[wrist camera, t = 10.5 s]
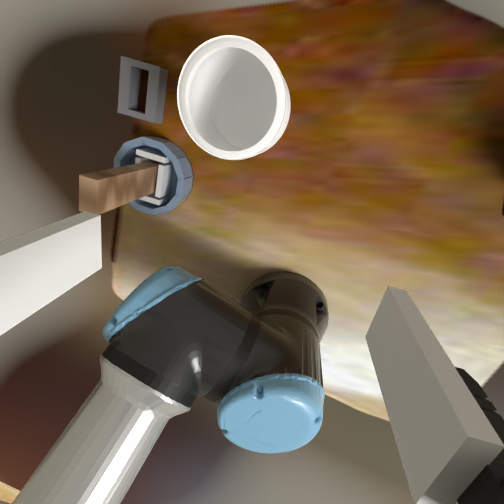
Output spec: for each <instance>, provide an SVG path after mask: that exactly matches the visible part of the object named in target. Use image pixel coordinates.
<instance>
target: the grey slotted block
mask: <svg viewBox="0 0 504 504" xmlns="http://www.w3.org/2000/svg"><path fill="white" fill-rule="evenodd" d="M120 63H121V64H120V79H119V96H118V112H119V113H122V114H125V115H128V116H132V117H135V118H139V119H142V120H145V121H149V122H152V123H160V124H162V122H163V113H164V105H165V96H166V88H167V80H168V71H169V70H166V69H164V68H162V67H159V66H155V65H152V64H149V63H145V62H142V61H138V60H134V59H131V58H127V57H124V56H121V62H120ZM141 69H142V70H145V71H149V77H148V88H147V98H146V109H145V112H141V111H138V110H137V107H138V95H139V83H140V71H141Z"/></svg>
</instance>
